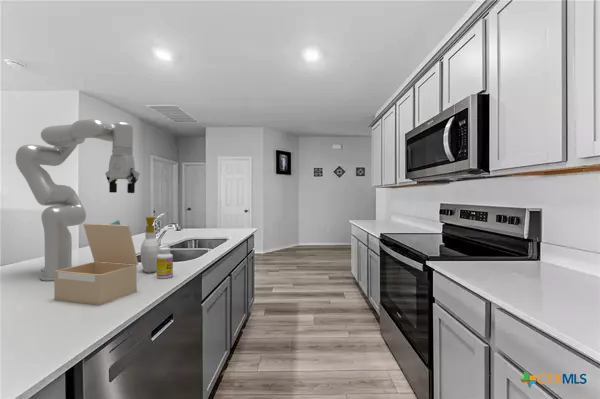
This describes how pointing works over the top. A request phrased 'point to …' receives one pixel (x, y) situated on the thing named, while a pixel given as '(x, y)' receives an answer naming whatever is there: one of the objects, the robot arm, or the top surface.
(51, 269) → the robot arm
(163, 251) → the supplement bottle
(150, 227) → the soap bottle
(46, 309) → the top surface
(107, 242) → the lid
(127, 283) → the carton
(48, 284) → the top surface
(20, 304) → the top surface
